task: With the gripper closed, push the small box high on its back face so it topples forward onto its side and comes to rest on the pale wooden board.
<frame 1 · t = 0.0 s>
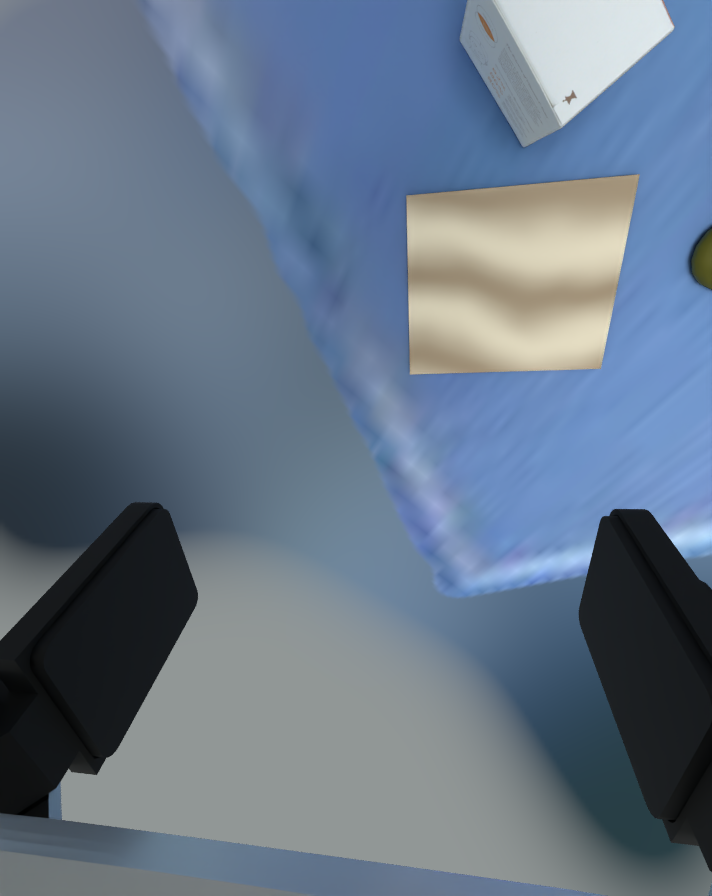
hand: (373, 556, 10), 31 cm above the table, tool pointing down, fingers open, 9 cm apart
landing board: (508, 286, 35), on the table
small box: (527, 61, 29), on the table
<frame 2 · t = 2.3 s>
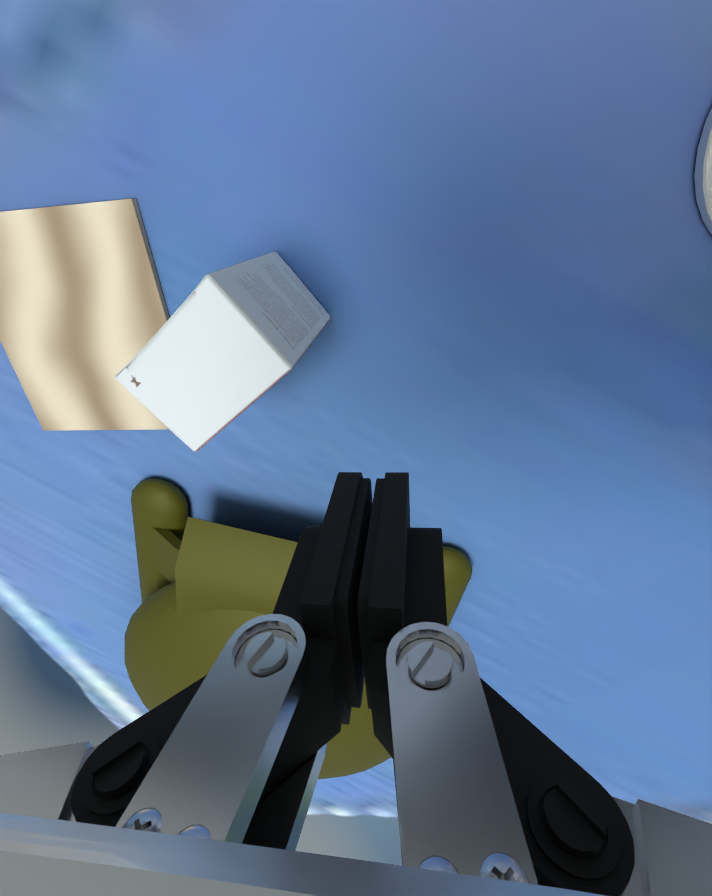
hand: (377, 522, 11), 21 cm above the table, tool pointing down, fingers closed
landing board: (85, 330, 33), on the table
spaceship: (287, 628, 48), on the table
small box: (266, 320, 31), on the table
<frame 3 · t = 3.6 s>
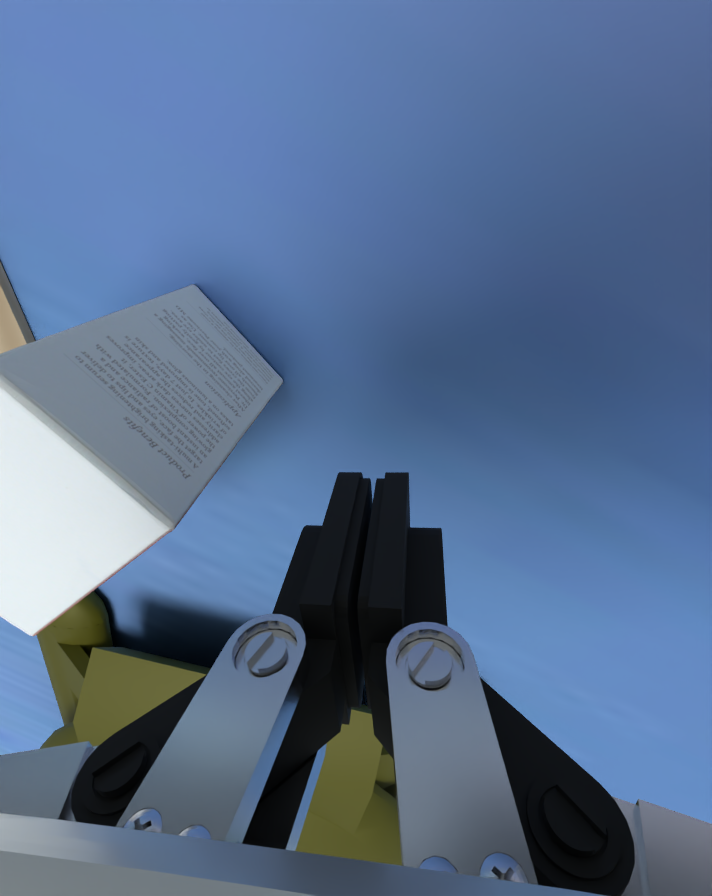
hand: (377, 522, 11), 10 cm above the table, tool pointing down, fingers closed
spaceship: (250, 743, 38), on the table
small box: (191, 383, 21), on the table
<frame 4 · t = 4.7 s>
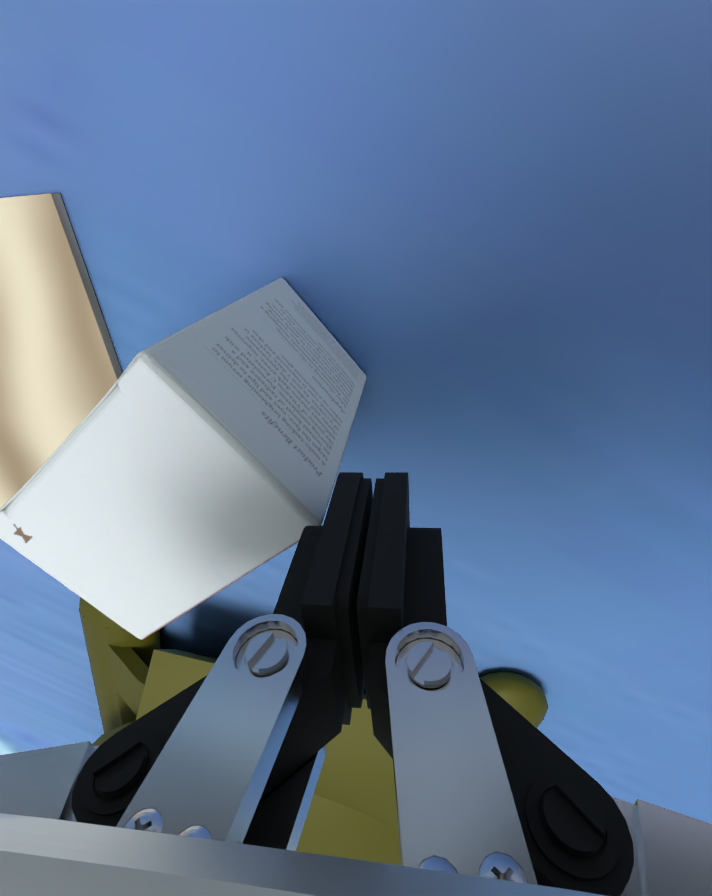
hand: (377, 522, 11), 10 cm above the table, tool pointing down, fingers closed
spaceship: (291, 746, 37), on the table
small box: (267, 379, 20), on the table, touching gripper
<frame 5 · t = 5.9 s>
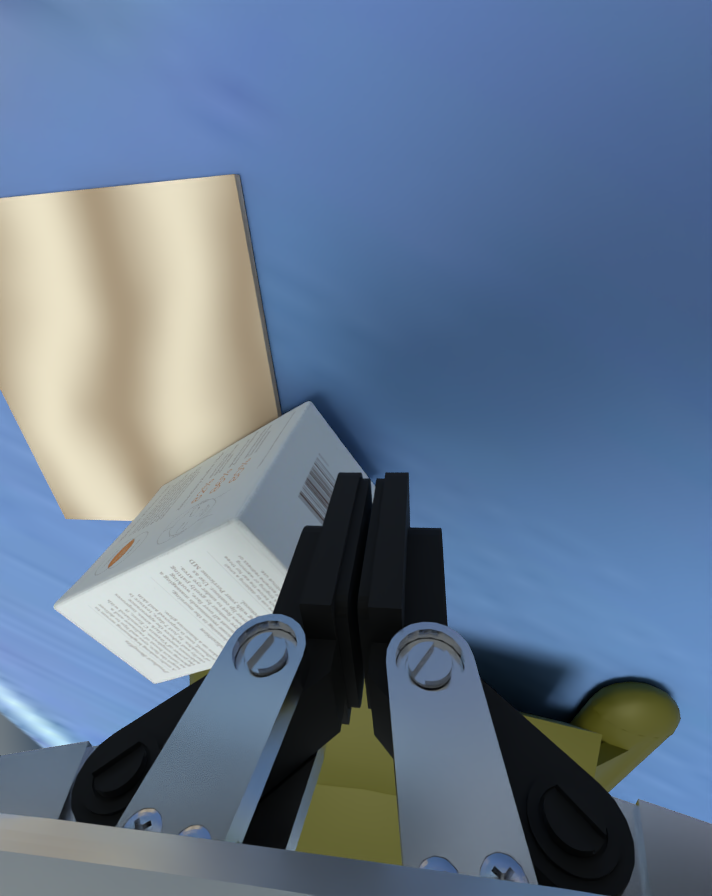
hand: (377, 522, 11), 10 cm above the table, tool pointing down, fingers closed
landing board: (135, 384, 21), on the table
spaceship: (379, 754, 36), on the table
small box: (330, 498, 16), point 5 cm above the table, touching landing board
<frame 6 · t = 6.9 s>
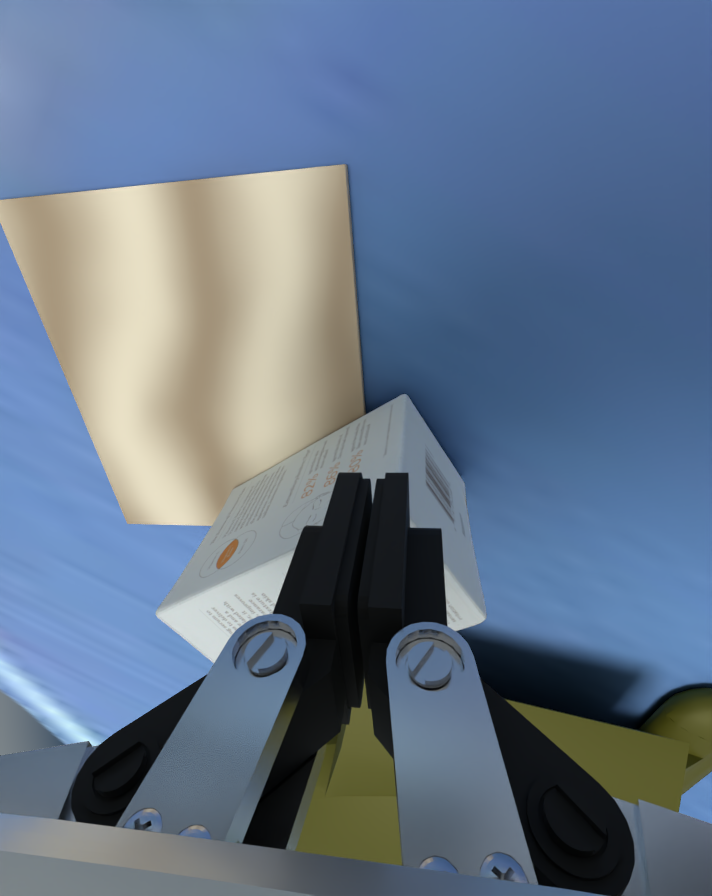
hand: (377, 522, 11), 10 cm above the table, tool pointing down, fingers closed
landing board: (213, 384, 20), on the table
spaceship: (430, 761, 36), on the table
small box: (447, 488, 16), point 5 cm above the table, touching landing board
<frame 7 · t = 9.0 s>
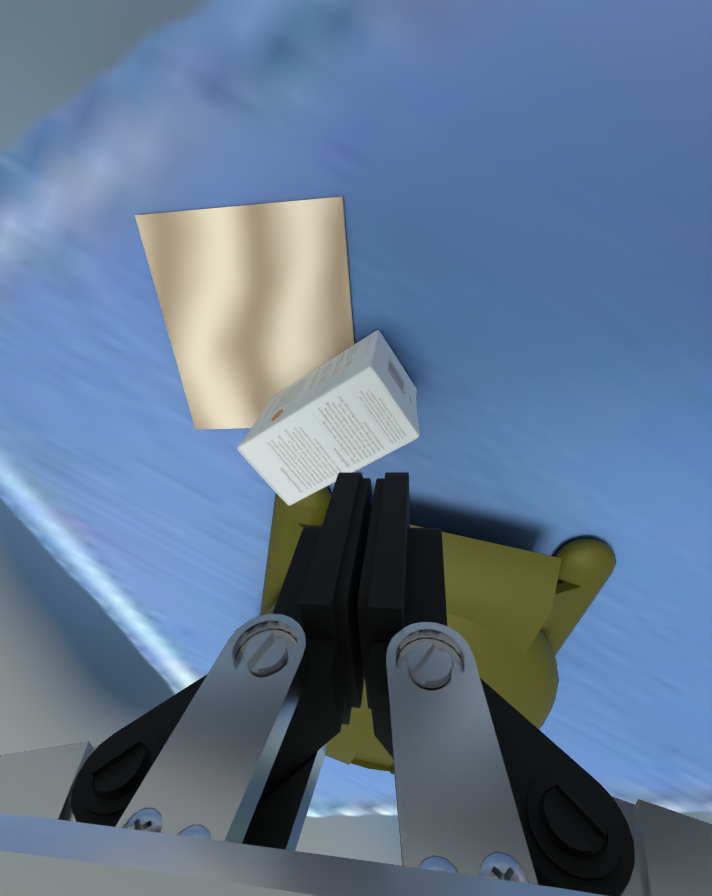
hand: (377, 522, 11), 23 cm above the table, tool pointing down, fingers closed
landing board: (260, 328, 33), on the table
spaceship: (403, 624, 48), on the table
small box: (401, 376, 29), point 5 cm above the table, touching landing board
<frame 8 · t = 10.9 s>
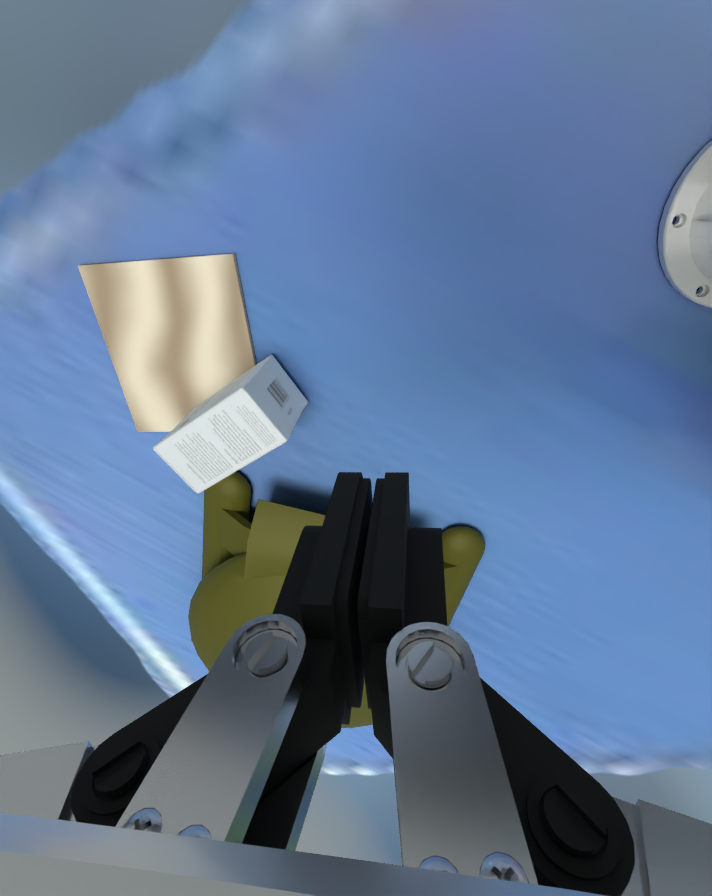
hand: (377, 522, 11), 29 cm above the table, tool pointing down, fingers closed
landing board: (182, 352, 41), on the table
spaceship: (324, 599, 56), on the table
small box: (281, 393, 37), point 5 cm above the table, touching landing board
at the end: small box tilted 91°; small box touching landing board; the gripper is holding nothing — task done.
